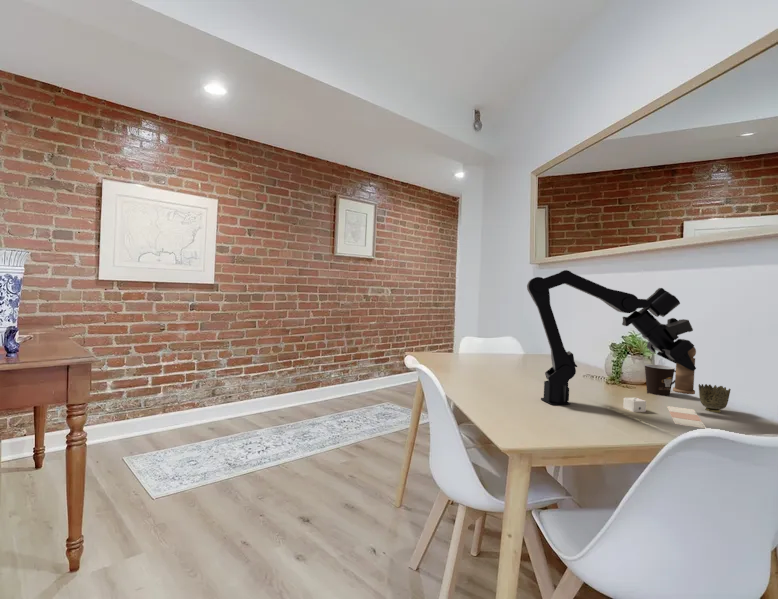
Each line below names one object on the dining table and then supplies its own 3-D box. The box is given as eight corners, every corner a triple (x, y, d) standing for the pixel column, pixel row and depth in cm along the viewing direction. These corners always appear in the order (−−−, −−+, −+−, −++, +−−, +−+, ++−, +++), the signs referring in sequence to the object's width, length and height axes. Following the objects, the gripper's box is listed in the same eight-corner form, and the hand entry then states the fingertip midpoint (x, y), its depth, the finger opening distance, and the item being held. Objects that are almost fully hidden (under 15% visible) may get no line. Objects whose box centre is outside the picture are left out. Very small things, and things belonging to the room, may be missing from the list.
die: (633, 415, 119) (634, 401, 119) (623, 411, 123) (623, 397, 123) (645, 415, 120) (646, 401, 120) (635, 411, 124) (635, 397, 124)
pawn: (683, 394, 119) (686, 344, 118) (668, 389, 124) (671, 341, 124) (699, 394, 120) (702, 344, 119) (684, 389, 125) (686, 342, 124)
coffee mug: (648, 397, 141) (650, 367, 141) (639, 391, 149) (641, 363, 149) (688, 400, 138) (689, 370, 138) (676, 394, 147) (678, 366, 147)
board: (709, 432, 106) (710, 429, 106) (671, 426, 109) (671, 423, 109) (696, 412, 124) (696, 409, 124) (664, 408, 128) (664, 405, 128)
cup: (734, 418, 119) (736, 390, 119) (705, 416, 121) (706, 388, 121) (719, 411, 127) (721, 384, 127) (692, 409, 128) (693, 382, 128)
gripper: (687, 310, 113) (732, 354, 111) (660, 308, 131) (699, 346, 129) (652, 337, 115) (696, 381, 113) (631, 331, 133) (668, 369, 131)
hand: (690, 368), depth 121 cm, fingers closed on pawn, 4 cm apart
